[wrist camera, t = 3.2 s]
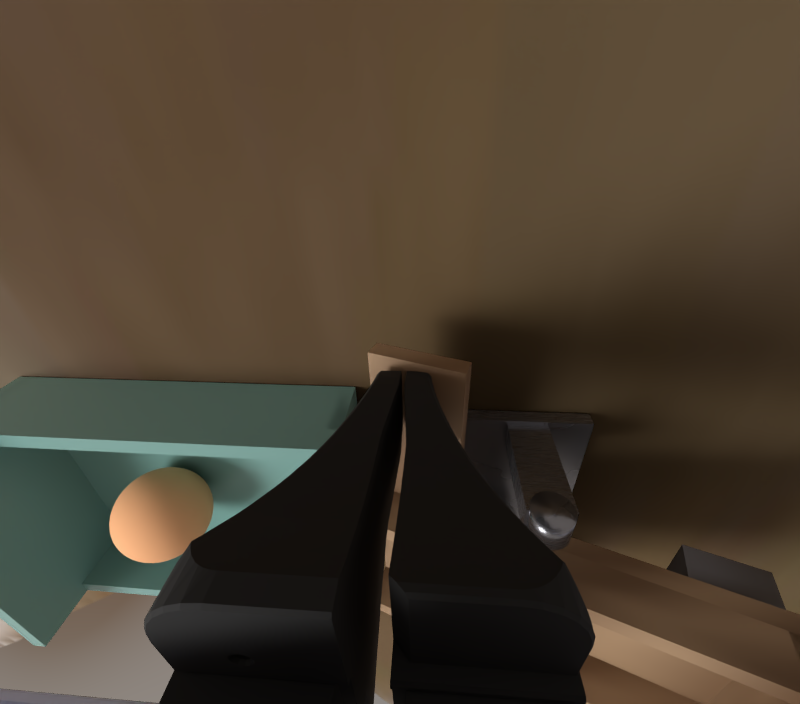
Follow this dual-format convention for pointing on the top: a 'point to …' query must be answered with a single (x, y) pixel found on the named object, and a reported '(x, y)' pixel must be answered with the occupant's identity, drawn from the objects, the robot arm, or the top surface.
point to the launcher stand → (532, 465)
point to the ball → (161, 514)
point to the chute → (646, 598)
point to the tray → (131, 473)
